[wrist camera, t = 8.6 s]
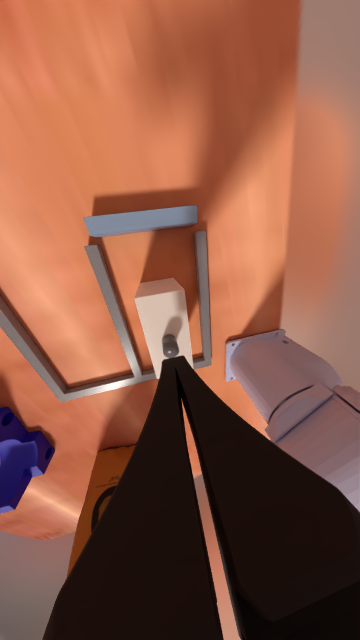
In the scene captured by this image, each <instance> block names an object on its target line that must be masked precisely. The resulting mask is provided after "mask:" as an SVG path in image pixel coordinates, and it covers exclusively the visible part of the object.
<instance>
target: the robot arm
mask: <svg viewBox="0 0 360 640" xmlns="http://www.w3.org/2000/svg"><path fill="white" fill-rule="evenodd" d="M236 379H237V380H238V382H239V383H240V385H241V386H242V388H243V389H244V390H245V392H246V393H247V395H248V396H249V398H250V399H251V401H252V402H253V403H254V405H255V406H256V408H257V409H258V411H259V412H260V414H261V415H262V416H263V418H264V419H265V421H266V422H267V424H268V426H267V427H266V428H265V431H266V433H267V434H268V436H269V437H270V439H271V440H269V439H267V438H266V437H265V436H264V435H262V434H261V433H260V432H258V431H257V430H256V429H255V428H253V427H252V426H251V425H250V424H248V423H247V422H246V421H245V420H243V419H242V418H241V417H240V416H239V415H238V414H236V413H235V412H234V411H233V410H232V409H231V408H230V407H228V406H227V405H226V404H225V403H224V402H223V401H222V400H221V399H220V398H219V397H218V396H217V395H216V394H215V393H214V392H213V391H212V390H211V389H210V388H209V387H208V386H207V385H206V384H205V383H204V381H203V380H202V379H201V378H200V377H199V376H198V374H197V373H196V372H195V371H194V369H193V368H192V367H191V365H190V364H189V363H188V361H187V359H186V358H185V356H183V355H181V356H177V357H173V358H168V359H164V360H163V361H162V367H161V373H160V378H159V382H158V385H157V389H156V393H155V396H154V399H153V402H152V405H151V408H150V411H149V414H148V417H147V419H146V422H145V424H144V427H143V429H142V432H141V434H140V437H139V439H138V441H137V443H136V446H135V448H134V450H133V453H132V455H131V457H130V459H129V461H128V463H127V465H126V468H125V470H124V472H123V474H122V476H121V478H120V480H119V482H118V484H117V486H116V488H115V490H114V492H113V494H112V496H111V498H110V500H109V502H108V504H107V506H106V507H105V509H104V511H103V513H102V515H101V517H100V519H99V521H98V523H97V524H96V526H95V528H94V530H93V532H92V534H91V535H90V537H89V539H88V541H87V543H86V544H85V546H84V548H83V550H82V552H81V554H80V555H79V557H78V559H77V561H76V563H75V564H74V566H73V568H72V570H71V572H70V574H69V575H68V577H67V579H66V581H65V583H64V585H63V586H62V588H61V590H60V592H59V594H58V596H57V599H56V601H55V604H54V607H53V610H52V613H51V616H50V619H49V622H48V624H47V627H46V630H45V633H44V636H43V640H223V634H222V629H221V623H220V618H219V613H218V607H217V598H216V593H215V589H214V582H213V578H212V572H211V568H210V562H209V557H208V551H207V547H206V541H205V537H204V531H203V526H202V520H201V516H200V510H199V505H198V500H197V495H196V489H195V484H194V479H193V474H192V469H191V463H190V458H189V453H188V447H187V441H186V433H185V425H184V416H183V408H182V402H183V405H184V408H185V411H186V415H187V418H188V421H189V424H190V428H191V431H192V434H193V438H194V441H195V445H196V449H197V453H198V458H199V462H200V466H201V471H202V475H203V479H204V484H205V488H206V492H207V496H208V501H209V506H210V510H211V514H212V519H213V523H214V527H215V532H216V537H217V541H218V545H219V550H220V554H221V559H222V563H223V568H224V572H225V577H226V581H227V585H228V590H229V594H230V599H231V603H232V607H233V611H234V616H235V621H236V625H237V629H238V633H239V636H240V638H241V640H360V393H359V392H358V391H356V390H355V389H353V388H352V387H349V386H343V384H342V380H341V378H340V376H339V375H338V373H337V372H336V371H335V369H334V368H333V367H332V366H331V365H330V364H329V363H327V362H326V361H325V360H323V359H322V358H321V357H319V356H317V355H316V354H314V353H312V352H311V351H309V350H307V349H306V348H304V347H302V346H301V345H299V344H297V343H296V342H294V341H293V340H291V339H289V338H288V337H286V336H285V330H283V329H280V330H276V331H271V332H267V333H262V334H258V335H254V336H249V337H245V338H241V339H236V340H232V341H228V342H227V343H226V356H225V380H226V381H232V380H236ZM181 398H182V400H181Z"/></svg>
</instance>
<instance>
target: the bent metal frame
mask: <svg viewBox="0 0 360 640" xmlns="http://www.w3.org/2000/svg"><path fill="white" fill-rule="evenodd" d="M194 246H195V259H196V273H197V286H198V299H199V313H200V326H201V339H202V353H203V357H201V358H196V359H193V368H194V369H198V368H202V367H206V366H210V365H211V341H210V317H209V293H208V268H207V244H206V230H203V231H196V232H194ZM84 247H85V249H86V252H87V255H88V257H89V260H90V262H91V265H92V268H93V270H94V273H95V275H96V278H97V281H98V283H99V286H100V288H101V291H102V294H103V296H104V299H105V301H106V304H107V307H108V309H109V312H110V314H111V317H112V320H113V322H114V325H115V327H116V330H117V333H118V335H119V338H120V340H121V343H122V346H123V348H124V351H125V353H126V356H127V359H128V361H129V364H130V366H131V369H132V372H133V374H129V375H125V376H121V377H117V378H112V379H108V380H104V381H100V382H96V383H91V384H87V385H83V386H79V387H75V388H70V389H67V387H66V386H65V385H64V383H63V382H62V381H61V379H60V378H59V376H58V375H57V374H56V372H55V371H54V369H53V368H52V367H51V365H50V364H49V362H48V361H47V360H46V358H45V357H44V356H43V354H42V353H41V351H40V350H39V349H38V347H37V346H36V344H35V343H34V342H33V340H32V339H31V337H30V336H29V335H28V333H27V332H26V331H25V329H24V328H23V326H22V325H21V324H20V322H19V321H18V319H17V318H16V317H15V315H14V314H13V312H12V311H11V310H10V308H9V307H8V306H7V304H6V303H5V301H4V300H3V299H2V297H1V296H0V327H1V328H2V329H3V331H4V332H5V333H6V334H7V336H8V337H9V338H10V339H11V341H12V342H13V343H14V344H15V346H16V347H17V348H18V349H19V351H20V352H21V353H22V354H23V356H24V357H25V358H26V359H27V361H28V362H29V363H30V364H31V366H32V367H33V368H34V369H35V371H36V372H37V373H38V374H39V376H40V377H41V378H42V379H43V381H44V382H45V383H46V384H47V386H48V387H49V388H50V389H51V391H52V392H53V393H54V394H55V396H56V397H57V398H58V399H59V401H60V402H64V401H68V400H72V399H76V398H80V397H84V396H88V395H92V394H97V393H101V392H105V391H109V390H113V389H117V388H121V387H125V386H129V385H133V384H137V383H141V382H145V381H149V380H153V379H157V378H156V374H155V370H154V369H150V370H146V371H142V369H141V366H140V363H139V360H138V357H137V354H136V351H135V348H134V345H133V342H132V339H131V337H130V334H129V331H128V328H127V325H126V322H125V319H124V316H123V313H122V310H121V307H120V304H119V301H118V298H117V295H116V293H115V290H114V287H113V284H112V281H111V278H110V275H109V272H108V269H107V266H106V263H105V260H104V257H103V254H102V252H101V249H100V246H99V245H90V246H84Z"/></svg>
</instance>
